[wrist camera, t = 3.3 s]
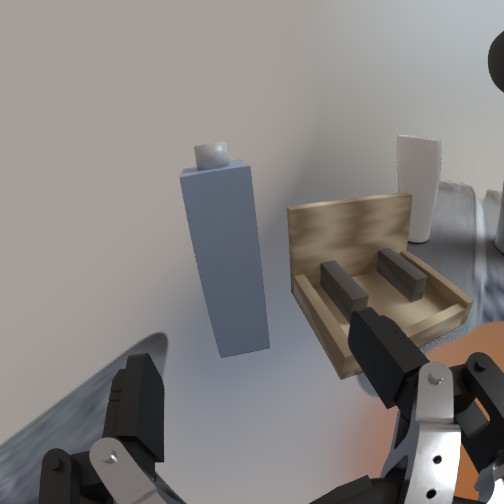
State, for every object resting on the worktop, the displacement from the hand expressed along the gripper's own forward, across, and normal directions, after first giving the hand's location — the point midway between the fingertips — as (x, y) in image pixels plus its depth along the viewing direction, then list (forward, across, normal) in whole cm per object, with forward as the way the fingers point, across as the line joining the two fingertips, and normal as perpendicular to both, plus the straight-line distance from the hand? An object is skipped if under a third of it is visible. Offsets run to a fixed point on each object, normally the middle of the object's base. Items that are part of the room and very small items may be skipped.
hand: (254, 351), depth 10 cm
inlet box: (+9, -13, +8) cm, 18 cm away
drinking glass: (+21, -28, +9) cm, 36 cm away
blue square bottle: (+10, 0, +8) cm, 13 cm away
